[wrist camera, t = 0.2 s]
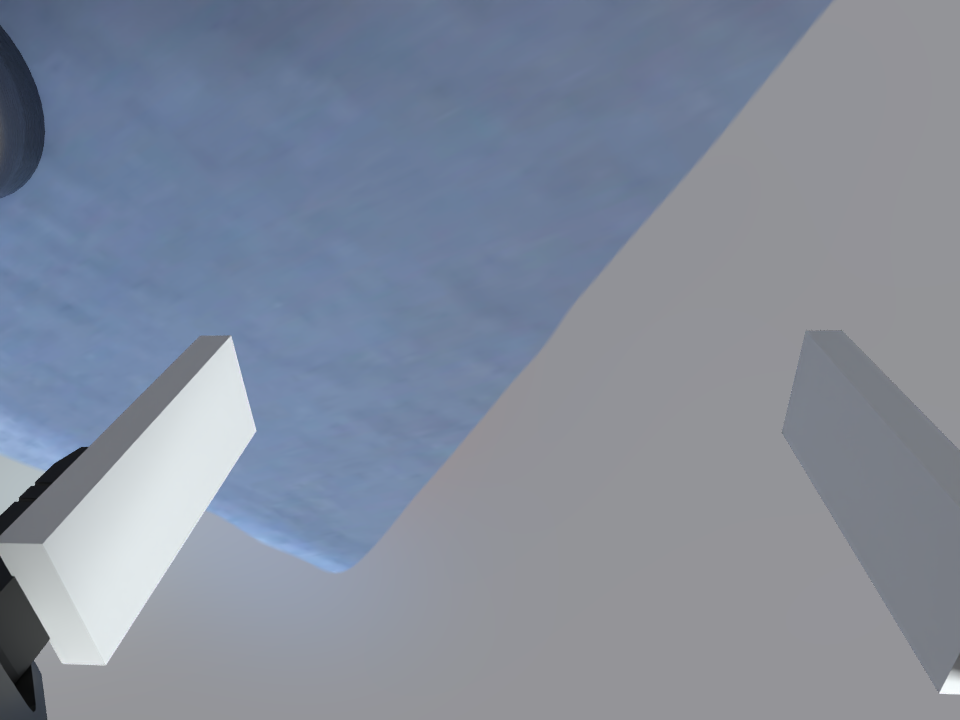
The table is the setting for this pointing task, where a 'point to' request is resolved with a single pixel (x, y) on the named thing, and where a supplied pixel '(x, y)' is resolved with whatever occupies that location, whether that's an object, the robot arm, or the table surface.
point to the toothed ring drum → (18, 119)
